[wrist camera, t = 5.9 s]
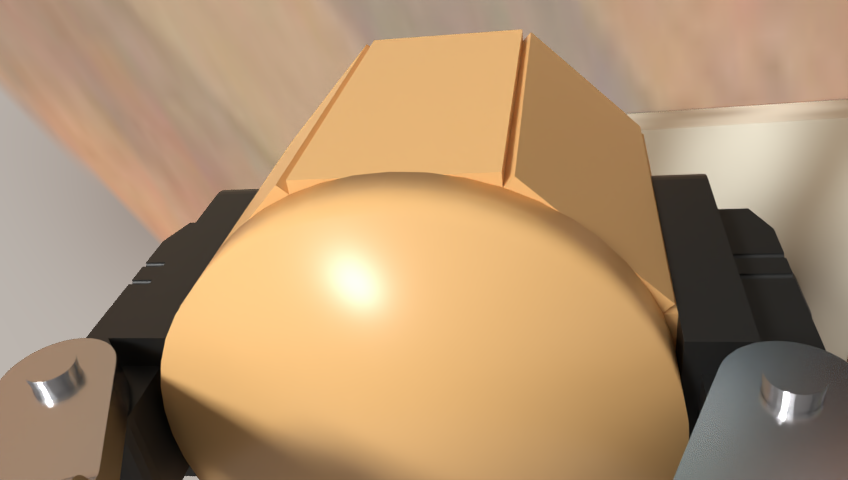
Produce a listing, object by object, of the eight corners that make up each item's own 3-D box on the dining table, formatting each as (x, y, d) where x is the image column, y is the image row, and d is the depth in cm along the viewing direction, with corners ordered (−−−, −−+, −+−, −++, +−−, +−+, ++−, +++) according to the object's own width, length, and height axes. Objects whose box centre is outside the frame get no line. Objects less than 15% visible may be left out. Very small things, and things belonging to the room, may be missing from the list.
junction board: (879, 97, 26) (973, 203, 20) (824, 396, 34) (881, 540, 28) (398, 128, 30) (356, 228, 24) (443, 394, 37) (419, 522, 31)
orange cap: (650, 16, 10) (710, 205, 6) (640, 337, 13) (674, 614, 9) (261, 44, 11) (84, 222, 7) (331, 336, 14) (234, 584, 10)
